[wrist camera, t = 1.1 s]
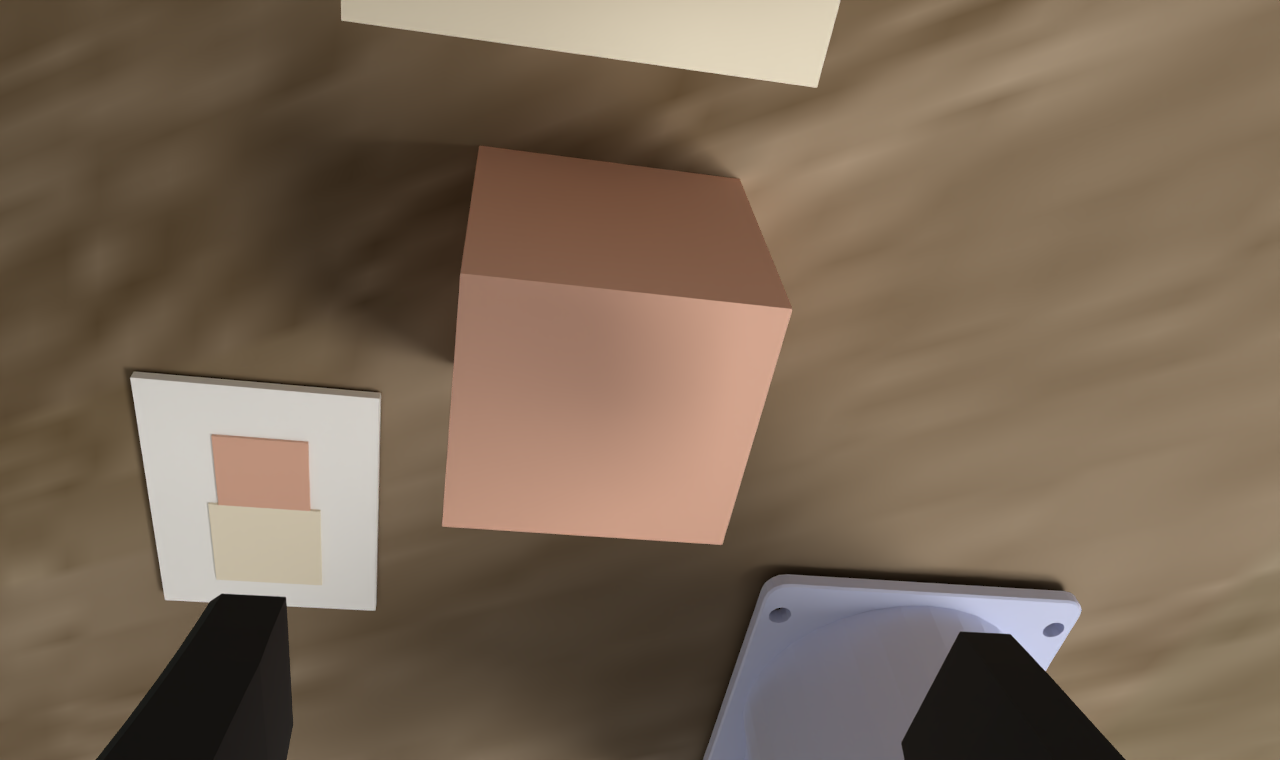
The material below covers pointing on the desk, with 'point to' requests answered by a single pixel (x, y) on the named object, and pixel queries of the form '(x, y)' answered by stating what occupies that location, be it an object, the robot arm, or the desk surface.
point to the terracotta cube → (608, 349)
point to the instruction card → (262, 488)
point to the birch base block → (635, 30)
